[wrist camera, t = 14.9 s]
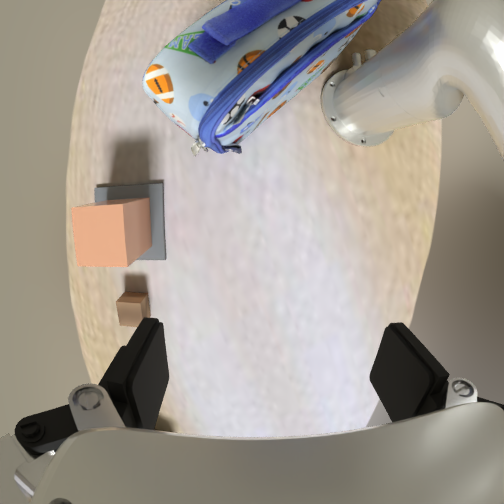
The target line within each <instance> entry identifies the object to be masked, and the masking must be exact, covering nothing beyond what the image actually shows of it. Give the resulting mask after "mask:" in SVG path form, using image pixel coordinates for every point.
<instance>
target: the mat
mask: <svg viewBox="0 0 504 504" xmlns="http://www.w3.org/2000/svg"><path fill="white" fill-rule="evenodd" d="M134 198H150V221H151V238H152V247H150V248H149V249H148V250H147V251H146V252H145V253H143V254H142V255H141V256H140V257H139V258H137V259H136V260H166V249H165V229H164V196H163V183H160V184H141V185H126V186H113V187H101V188H95V203H96V202H100V201H105V200H118V199H134Z"/></svg>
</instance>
